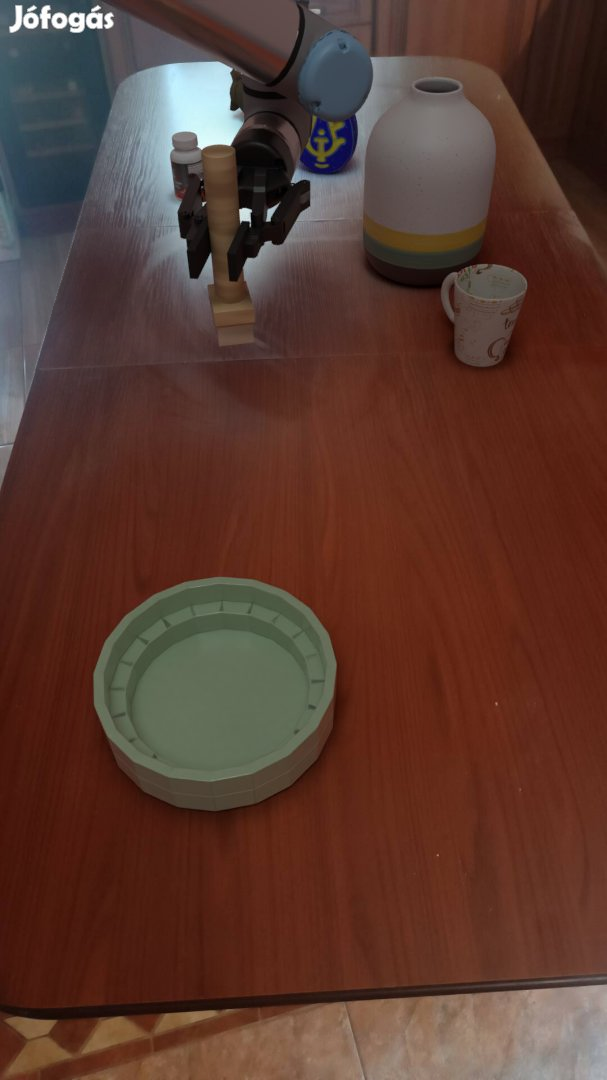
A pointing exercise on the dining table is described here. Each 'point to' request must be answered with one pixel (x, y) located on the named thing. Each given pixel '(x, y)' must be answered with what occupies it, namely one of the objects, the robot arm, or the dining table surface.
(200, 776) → the bowl
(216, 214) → the brush
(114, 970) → the dining table surface
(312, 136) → the ornament
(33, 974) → the dining table surface
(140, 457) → the dining table surface
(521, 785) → the dining table surface
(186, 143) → the pill bottle
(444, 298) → the mug
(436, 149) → the vase
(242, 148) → the robot arm
